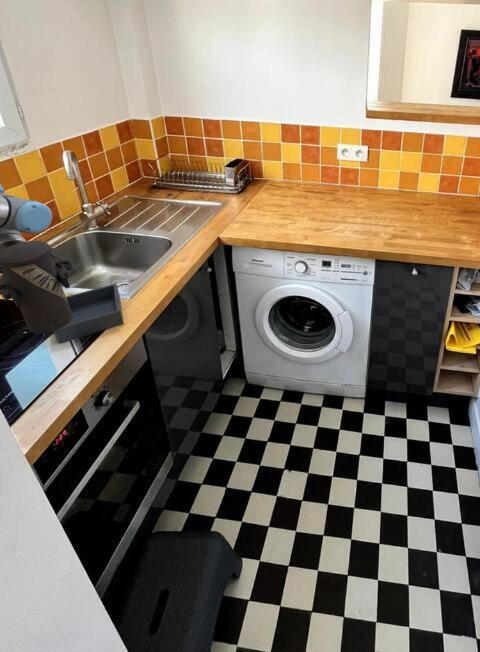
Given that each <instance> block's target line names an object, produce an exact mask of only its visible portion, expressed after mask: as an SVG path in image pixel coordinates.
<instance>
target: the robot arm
mask: <svg viewBox="0 0 480 652" xmlns="http://www.w3.org/2000/svg"><path fill="white" fill-rule="evenodd" d="M52 221H53V212H52V210H51V208H50V207H49V206H48V205H46V204H45V203H41V202H39V201H38V200H31V199H26V198H22V197H18V196H14V195H11V194H7V193H6V191H5V189H4V188H3V186H2V184H1V183H0V252H1V251H2V250H4V249H6V248H8V247H10V246H12V245H15V244H18V243H22V242H27V241H28V240H26V239H25V237H23V235H22V234H21V233H23V234H30V235H32V234H33V235H35V234H39V233H42V232H44V231H45V230H47V229H48V228H49V227H50V226H51V223H52ZM49 255H50V257H51V260H52V263H53V265H54V268H55V271H56V273H57V276H58V278H59V281H60V283H61V286H62V287H64V288H65V289H66V290H67V289H69V288H71V285H70V283H69V280H68V278H69V277H70V273H69V271H72V270H73V265H72V262H71V259H70V258H68V257H66V256H65V255H62V254H60V253H58V252H57V251H56V250H55V249H54V247H51V251H50V254H49ZM0 275H1V276H0V296H1V298H2V299H3V300H4V301H9V300H12V302H13V303H14V304H15V306H16V307H17V308H18V309H20V307H21V306H22V304H21V301H20V299H19V296H18V295H17V293H16V292H15V290H14V289H13V287H12V286H11V284H10V282H9V279H8V277H7V275H6V273H5V270H4V268H3V266H1V265H0Z"/></svg>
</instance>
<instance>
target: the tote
mask: <svg viewBox="0 0 480 652" xmlns="http://www.w3.org/2000/svg"><path fill="white" fill-rule="evenodd" d="M119 291H120V290H119V288H118V284H117V283H113V284H109V285H105V286H101V287H97V288H93V289H90V290H86V291H81V292H78V293H74V294H70V295H67V296H66V295H65V296H66V299H67V301H68V304H69V306H70V309H71V312H72V315H73V317H72V319H71V321H70V322H69V323H68V324H67V325H66V326H64V327H62V328H60V329H58V330H56V331H53V333H54V335H55V338H56V341H57V343H58V345H61V344H63V343H67V342H70V341H74V340H77V339H80V338H83V337H86V336H89V335H92V334H96V333H99V332H102V331H105V330H109V329H112V328H115V327H118V326H121V325H124V324H125V323H124V315H123V310H122V302H121V294H120V292H119Z"/></svg>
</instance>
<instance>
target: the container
mask: <svg viewBox="0 0 480 652" xmlns="http://www.w3.org/2000/svg"><path fill="white" fill-rule="evenodd" d="M26 241H27V242H22V243H18V244H15V245H12V246H10V247H8V248H6V249H4V250H2V251H1V252H0V265H1V266H3V268H4V270H5V273H6V275H7V277H8V279H9V282H10V284H11V286H12V287H13V289H14V290H15V292H16V293H17V295H18V296H19V299H20V301H21V304H22V306H21V307H19V309H20V311H21V314H22V316H23V320H24V322H25V324H26V327H27V329H28V331H29V332H30V333H32V334H35V335H36V334H37V335H43V334H50V333H52V332H53V333H54V331H56V330H58V329H60V328H62V327H64V326H66V325H67V324H68V323H69V322H70V321H71V319H72V317H73V315H72V312H71V309H70V306H69V304H68V301H67V299H66V293H65V290H64V289H63V285H62V283H61V282H60V281H59V278H58V276H57V273H56V271H55V268H54V265H53V263H52V260H51V257H50V255H49V254H50V251H51V248H52V247H51V245H50V243H48V242H45V241H42V240H26Z"/></svg>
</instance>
